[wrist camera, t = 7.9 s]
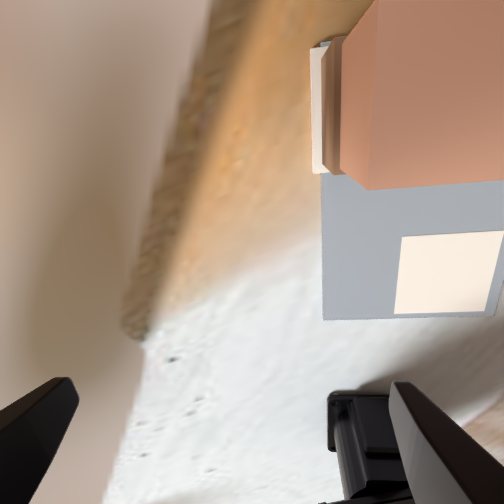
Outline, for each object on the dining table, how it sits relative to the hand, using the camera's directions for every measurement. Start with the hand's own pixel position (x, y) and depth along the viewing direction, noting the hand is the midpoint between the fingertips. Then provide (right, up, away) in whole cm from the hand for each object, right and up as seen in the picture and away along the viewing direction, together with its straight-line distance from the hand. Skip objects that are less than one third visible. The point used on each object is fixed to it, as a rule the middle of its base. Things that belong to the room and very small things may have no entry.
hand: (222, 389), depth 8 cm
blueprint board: (+11, +7, +9) cm, 15 cm away
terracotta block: (+7, +10, +3) cm, 12 cm away
